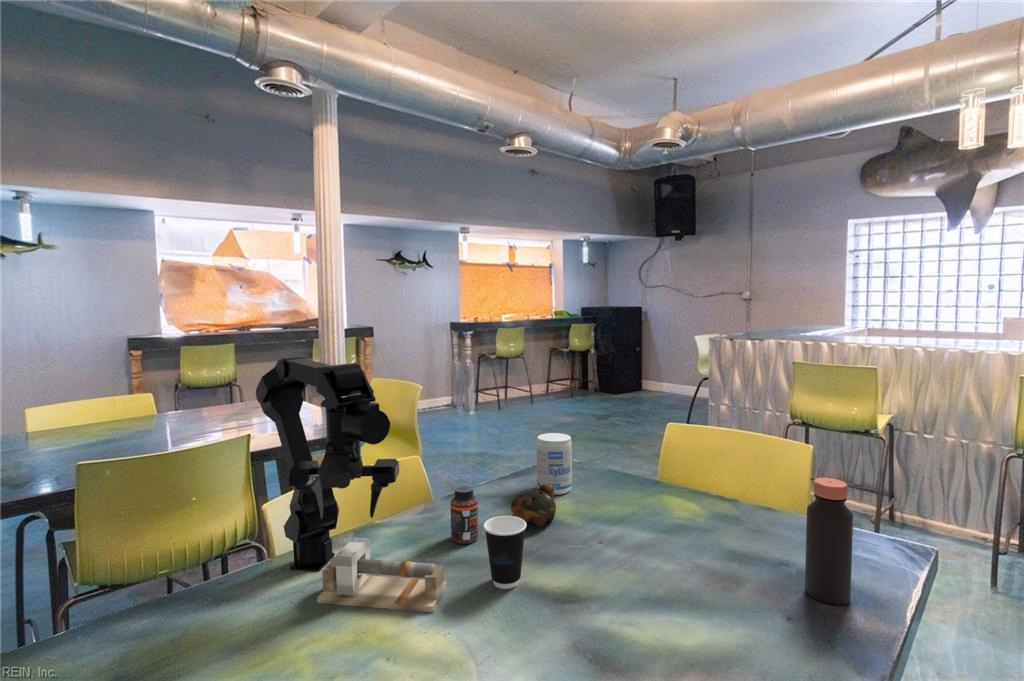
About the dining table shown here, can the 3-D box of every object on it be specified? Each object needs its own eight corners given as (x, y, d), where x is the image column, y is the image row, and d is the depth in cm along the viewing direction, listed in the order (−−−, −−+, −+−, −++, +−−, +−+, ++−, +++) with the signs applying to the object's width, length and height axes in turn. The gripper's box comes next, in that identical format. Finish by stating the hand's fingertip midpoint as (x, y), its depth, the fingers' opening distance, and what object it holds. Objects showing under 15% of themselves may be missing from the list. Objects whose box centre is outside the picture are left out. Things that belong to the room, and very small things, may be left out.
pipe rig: (317, 602, 91) (315, 568, 90) (339, 578, 99) (338, 546, 98) (433, 612, 87) (432, 576, 87) (446, 586, 95) (445, 553, 95)
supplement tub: (552, 498, 136) (551, 443, 135) (529, 488, 144) (529, 436, 143) (579, 490, 142) (578, 437, 141) (556, 481, 149) (556, 430, 148)
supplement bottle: (474, 546, 111) (473, 494, 110) (447, 544, 112) (446, 492, 111) (481, 533, 116) (480, 484, 116) (456, 532, 118) (454, 483, 117)
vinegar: (835, 610, 86) (838, 492, 84) (796, 590, 92) (798, 479, 90) (859, 599, 89) (863, 484, 87) (820, 580, 95) (822, 473, 93)
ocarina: (566, 514, 126) (567, 483, 125) (535, 544, 113) (535, 510, 112) (532, 505, 131) (531, 475, 130) (498, 532, 118) (498, 499, 117)
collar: (337, 594, 91) (335, 555, 90) (355, 573, 97) (354, 537, 97) (353, 595, 90) (351, 556, 90) (370, 574, 97) (369, 538, 96)
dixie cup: (515, 566, 102) (514, 512, 101) (535, 586, 95) (534, 528, 94) (478, 577, 98) (476, 520, 97) (495, 598, 91) (494, 537, 90)
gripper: (272, 448, 85) (277, 540, 86) (388, 445, 86) (391, 536, 88) (296, 430, 96) (299, 512, 97) (398, 428, 97) (400, 509, 99)
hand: (346, 517), depth 95 cm, fingers open, 9 cm apart
